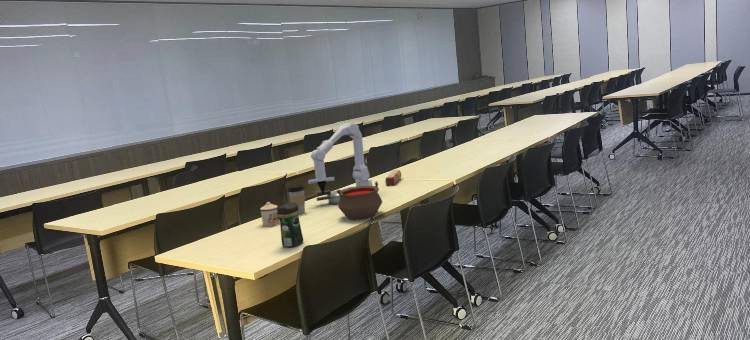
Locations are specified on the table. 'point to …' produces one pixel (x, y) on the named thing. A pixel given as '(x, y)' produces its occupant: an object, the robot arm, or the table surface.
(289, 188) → the coffee cup
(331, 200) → the pot
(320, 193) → the lid
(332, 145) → the robot arm
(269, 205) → the teacup with lid
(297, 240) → the coffee jar
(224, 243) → the table surface
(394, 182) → the snack package
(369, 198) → the brown cauldron
